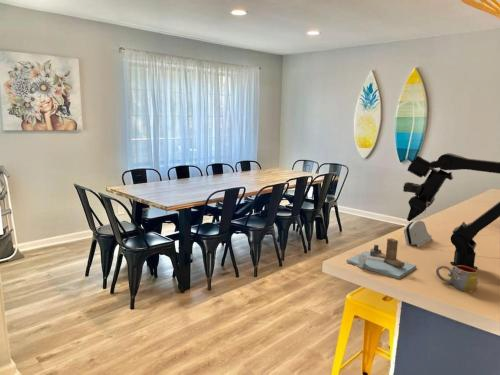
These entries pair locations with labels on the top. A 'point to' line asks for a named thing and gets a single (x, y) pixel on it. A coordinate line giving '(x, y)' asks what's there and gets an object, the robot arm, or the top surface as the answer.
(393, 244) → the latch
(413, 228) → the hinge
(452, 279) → the mug
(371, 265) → the board
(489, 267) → the top surface
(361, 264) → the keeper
